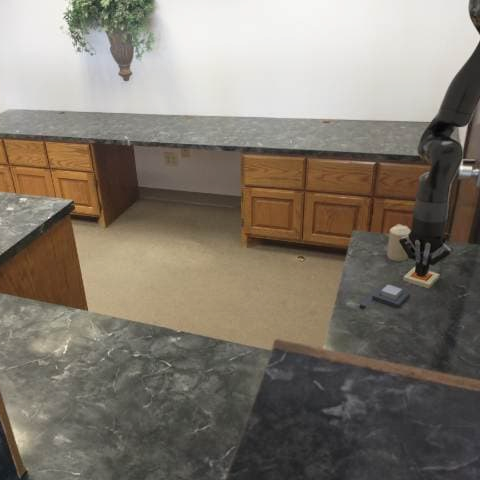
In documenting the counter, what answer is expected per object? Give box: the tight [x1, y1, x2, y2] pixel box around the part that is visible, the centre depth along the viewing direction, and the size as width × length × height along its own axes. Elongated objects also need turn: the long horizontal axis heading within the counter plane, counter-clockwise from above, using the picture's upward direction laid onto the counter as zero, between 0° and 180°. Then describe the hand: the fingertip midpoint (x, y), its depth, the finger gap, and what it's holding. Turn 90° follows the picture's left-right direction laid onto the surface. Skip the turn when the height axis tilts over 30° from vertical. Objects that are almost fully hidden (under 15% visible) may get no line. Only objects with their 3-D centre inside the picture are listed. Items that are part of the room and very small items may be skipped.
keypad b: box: [359, 283, 411, 310], centre depth 128 cm, size 12×10×3 cm
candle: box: [386, 223, 411, 262], centre depth 146 cm, size 6×6×10 cm
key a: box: [412, 273, 431, 281], centre depth 134 cm, size 4×4×2 cm
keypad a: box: [402, 266, 440, 289], centre depth 134 cm, size 12×10×3 cm
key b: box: [381, 284, 403, 301], centre depth 127 cm, size 4×4×2 cm
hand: (420, 274), depth 133 cm, fingers closed
